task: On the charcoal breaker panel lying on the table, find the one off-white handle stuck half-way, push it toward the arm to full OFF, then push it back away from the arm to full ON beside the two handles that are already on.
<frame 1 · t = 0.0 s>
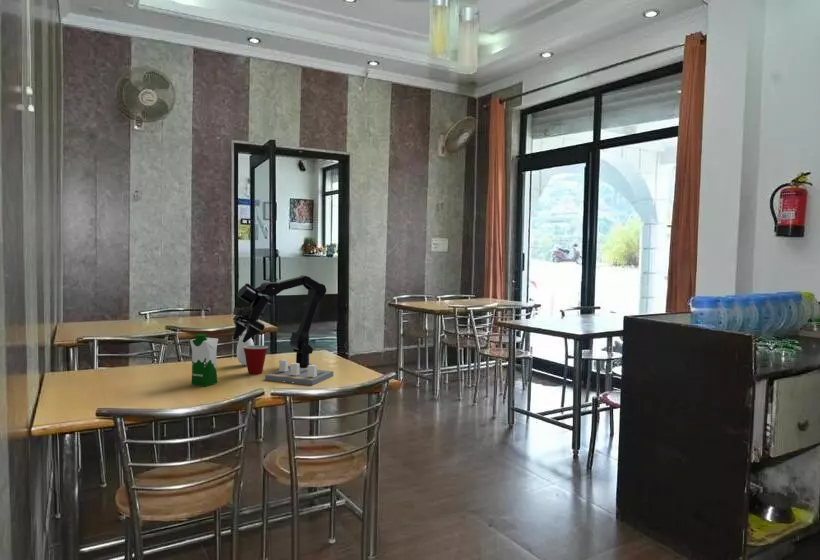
hand: (238, 340, 239), 15 cm above the table, tool tilted 35°, fingers open, 9 cm apart
milk carton: (204, 384, 224), on the table
tripped breaker: (283, 365, 239), point 5 cm above the table, slide at 4.0 cm
sauce bottle: (245, 365, 259), on the table
breaker panel: (300, 377, 237), on the table
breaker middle: (295, 369, 233), point 5 cm above the table, slide at 8.0 cm
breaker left: (312, 370, 230), point 5 cm above the table, slide at 8.0 cm
plastic cup: (255, 373, 244), on the table
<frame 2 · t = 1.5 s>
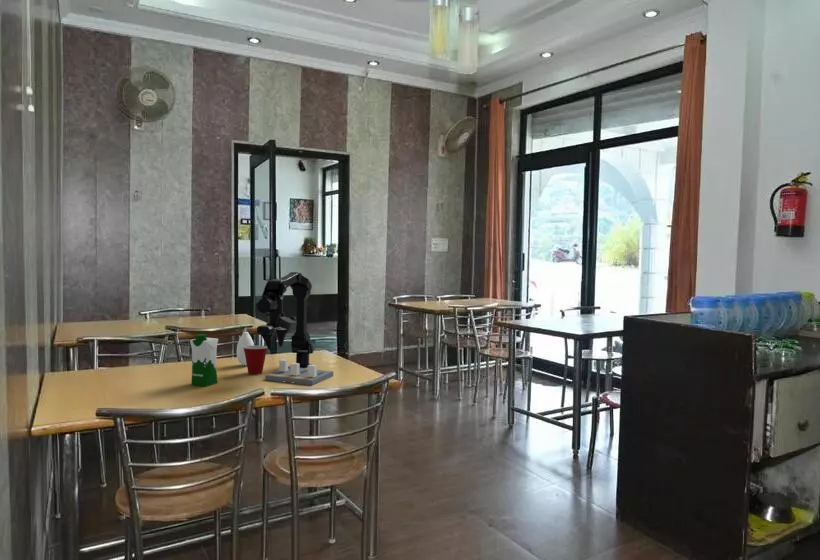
hand: (275, 348, 233), 13 cm above the table, tool pointing down, fingers open, 8 cm apart
nothing on the table moved.
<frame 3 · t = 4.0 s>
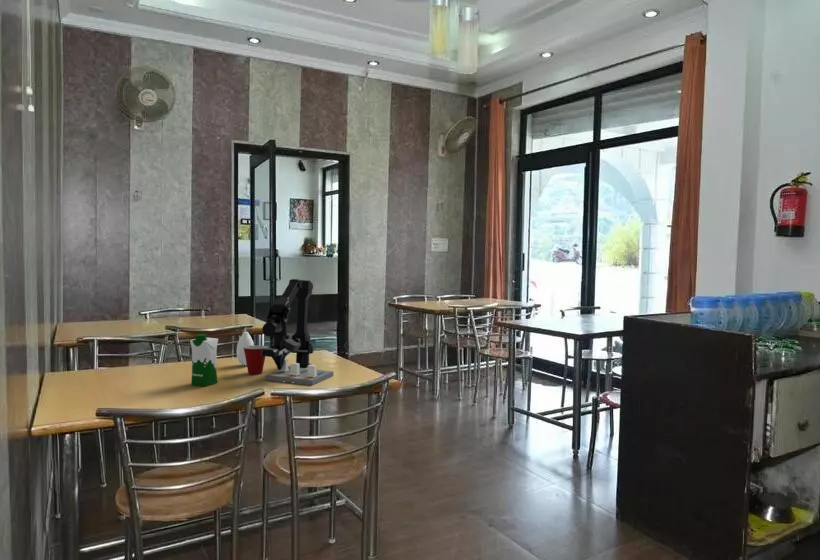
hand: (279, 369, 237), 3 cm above the table, tool pointing down, fingers closed
tripped breaker: (283, 365, 240), point 5 cm above the table, slide at 3.7 cm, touching gripper
everything else where it was.
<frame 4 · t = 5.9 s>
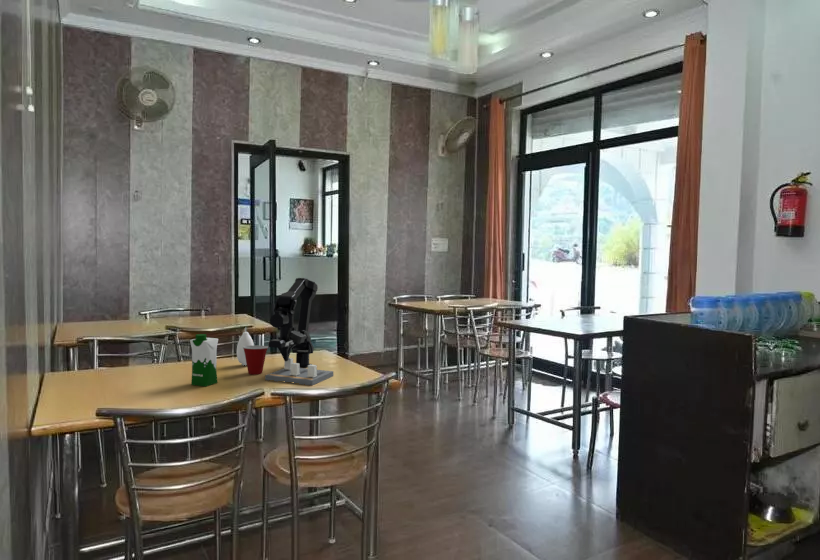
hand: (286, 361, 241), 6 cm above the table, tool pointing down, fingers closed
tripped breaker: (288, 363, 243), point 5 cm above the table, slide at -0.1 cm
everything else where it was.
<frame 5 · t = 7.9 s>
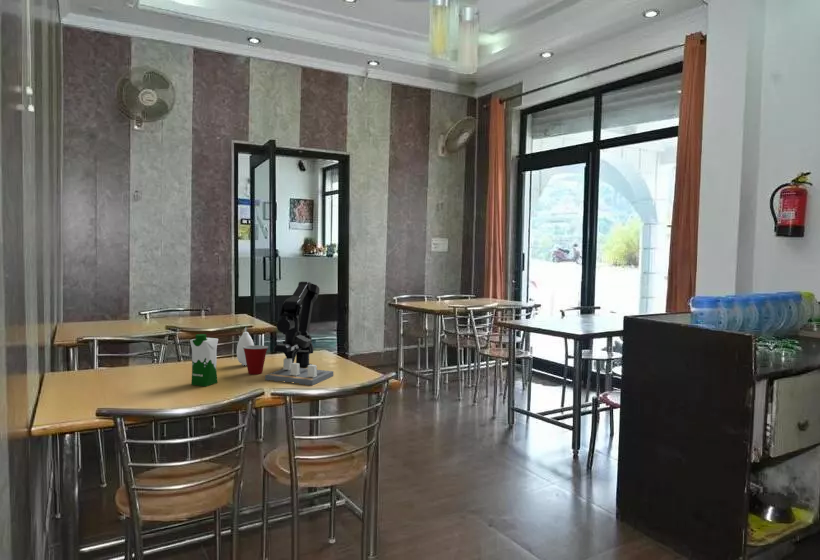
hand: (291, 364, 245), 4 cm above the table, tool pointing down, fingers closed
tripped breaker: (287, 363, 242), point 5 cm above the table, slide at 0.7 cm, touching gripper
everything else where it was.
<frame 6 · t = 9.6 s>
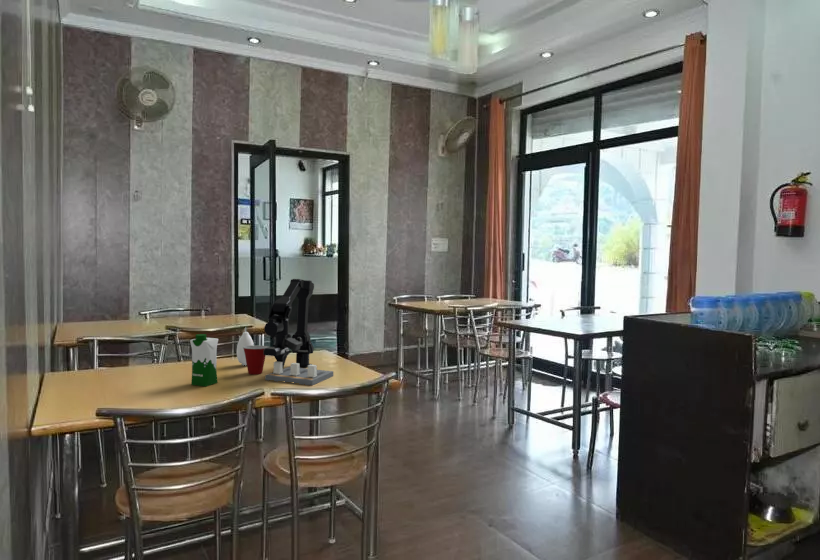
hand: (281, 368, 238), 4 cm above the table, tool pointing down, fingers closed
tripped breaker: (278, 367, 235), point 5 cm above the table, slide at 8.2 cm, touching gripper
everything else where it was.
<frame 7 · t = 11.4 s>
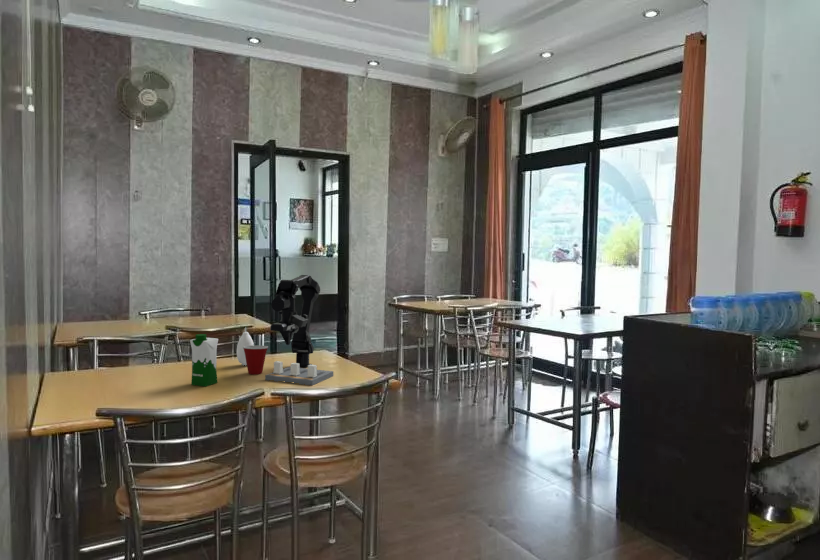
hand: (287, 344, 244), 13 cm above the table, tool pointing down, fingers closed
tripped breaker: (278, 367, 235), point 5 cm above the table, slide at 8.1 cm
everything else where it was.
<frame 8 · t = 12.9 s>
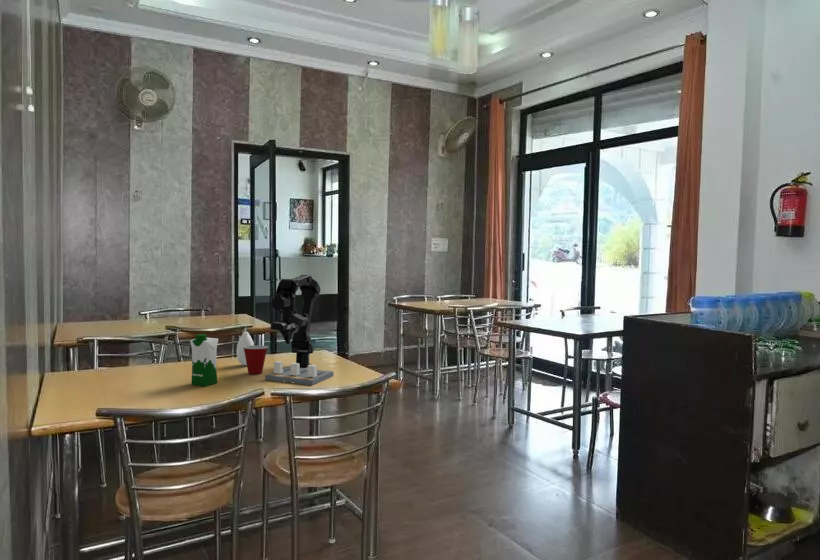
hand: (288, 343, 244), 13 cm above the table, tool pointing down, fingers closed
nothing on the table moved.
at the end: tripped breaker slide at 8.1 cm; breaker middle slide at 8.0 cm; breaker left slide at 8.0 cm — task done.
